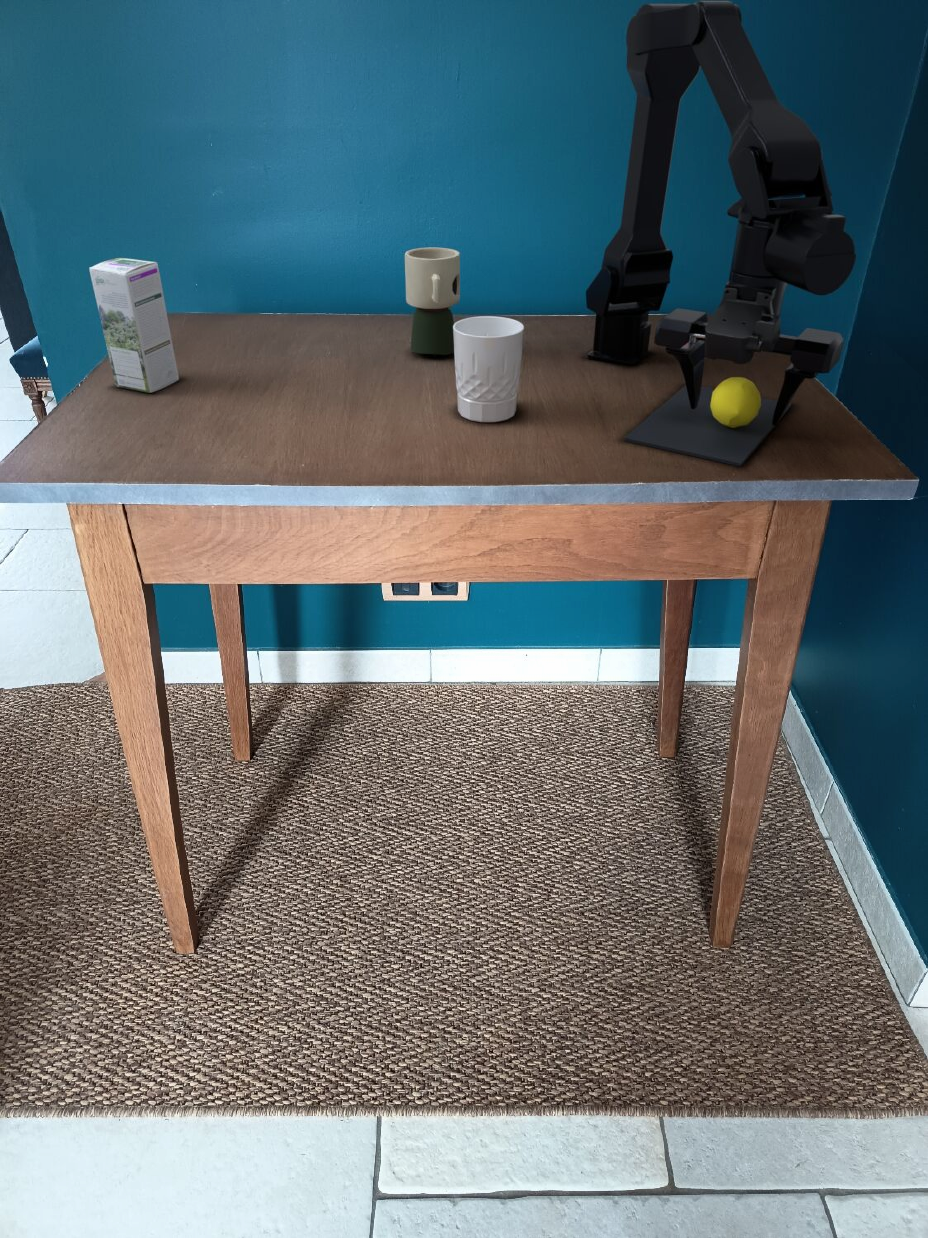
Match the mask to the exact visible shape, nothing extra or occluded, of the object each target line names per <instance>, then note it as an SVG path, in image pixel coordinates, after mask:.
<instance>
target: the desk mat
mask: <svg viewBox="0 0 928 1238" xmlns="http://www.w3.org/2000/svg"><path fill="white" fill-rule="evenodd" d="M714 390H715V388H714V387H713V388H712V387H708V386H702V385H701V393H700V397H699V401H698V405H697V408H695V409H691V406H690V402H689V397H688V393H687V388H686V384H685V385H684V386H682V387H681V388H680V389H678V391H676V392H675V393H674V394H673V395H671V397H670V398H669V399H667V400H666V401H665V402H664V403H663V404H661V405H660V406H659V407H658V408H657V409H656V410H654V411H653V412H652V413H651V414H650V415H649V416H648V417H646V418H645V419H644V420H643V421H642V422H640V423H639V424H638V425H637V426H636V427H635V428H634V429H632V430H631V431H630V432H629V433H627V434H626V436H624V438H623V441H624V442H627V443H628V442H629V443H632V444H636V445H641V446H645V447H650V448H655V449H660V450H663V451H664V450H665V451H668V452H674V453H678V454H681V455H686V456H691V457H695V458H700V459H703V460H708V461H714V462H717V463H723V464H726V465H730V466H736V467H742V466H743V465H744V464H745V462H746V461H747V460H748V459H749V458H750V456H751V455H752V454H753V453H754V452H755V451H756V449H757V448H758V447H759V445H760V444H761V443H762V442H763V441H764V440H765V439H766V437H767V436H768V435H769V433H771V431H773V429H774V428H775V427H776V426H775V425H772V421H773V415H774V411H775V408H776V404H777V401H778V399H777V400H776V399H771V398H765V397H761V396H760V399H761V407H760V409H759V412H758V415H757V416H756V417H755V418H754V419H753V420H752V421H751V422H750V423H749V424H748V425H744V426H739V427H735V428H731V427H728V426H724V425H723V424H721V423H720V422H719V421H718V420H717V419H716V418H715V417H713V414H712V410H711V407H710V405H711V398H712V393H713V391H714ZM792 405H793V403H792V402H790V403H789V405H788V406H787V408H786V410H785V411H784V413H783V415H782V417H781V418H780V420H782V418H783V417H784V416H785V415H786V413H787V412H788V411H789V410H790V409H791V407H792Z"/></svg>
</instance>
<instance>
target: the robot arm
mask: <svg viewBox="0 0 928 1238" xmlns="http://www.w3.org/2000/svg"><path fill="white" fill-rule="evenodd" d="M742 19H743V18H742V11H741V8H740V6H739V5H738V4H734V2H732V1H729V0H697V1H695V2H694V3H645V4H643V5H641V7H639V8H638V10H637V11H636V13H635V15H632V17H631V19H630V21H629V23H628V25H627V29H626V35H625V42H626V71H627V73H628V75H629V78H630V81H631V84H632V86H633V88H634V91H635V93H636V101H635V110H634V117H633V126H632V134H631V142H630V148H629V149H630V150H629V158H628V166H627V172H626V173H627V174H626V180H625V181H626V182H625V190H624V197H623V205H622V213H621V221H620V225H619V226H620V227H619V229H618V230H617V232H615V234H614V236H613V237H612V239H611V240H610V241H609V243H608V245H607V246H606V248H605V249H604V253H603V258H602V263H601V268H600V270H599V271H598V273H597V274H596V275H595V277H594V278H593V279H592V281H591V283H590V284H589V286H588V287H587V289H586V290H585V302H586V309H588V310H589V311H591V312H593V313H595V322H594V334H593V344H592V345H593V346H592V350H591V351H589V352H588V353H587V358H589V359H594V360H599V361H604V362H610V363H615V364H621V365H626V366H633V365H634V364H636V363H637V362H639V361H640V360H641V359H642V358H644V357H645V356H647V355H648V354H649V353H650V349H649V347H650V338H651V329H652V323H651V322H650V321H649V316H650V315H649V314H650V312H653V311H654V312H659V311H660V309H661V306H662V304H663V300H664V297H665V294H666V291H667V288H668V285H669V284H671V268H672V264H673V261H674V253H673V250H672V249H669V248H668V246H667V245H666V243H665V240H664V237H663V234H662V224H663V218H664V211H665V205H666V198H667V190H668V184H669V178H670V171H671V164H672V157H673V151H674V145H675V139H676V131H677V125H678V118H679V111H680V105H681V102H682V101H681V100H682V98H683V96H684V95H685V93H686V92H687V91H688V89H689V88H690V86H691V85H692V83H693V82H694V80H695V79H696V77H697V76H698V74H699V73H700V68H701V70H702V72H703V73H702V74H703V75H704V77H705V79H706V81H707V84H708V86H709V88H710V91H711V92H712V95H713V98H714V99H715V101H716V104H717V106H718V108H719V110H720V113H721V115H722V116H723V117H722V118H723V120H724V121H725V123H726V125H727V128H728V131H729V134H730V137H731V143H730V146H729V151H728V155H727V162H728V165H729V169H730V172H731V176H732V179H733V182H734V185H735V188H736V190H737V193H738V195H739V196H740V199H739V200H737V201H736V202H734V203H733V204H732V205H730V207H728V209H727V211H726V213H727V215H728V216H729V217H731V218H735V219H737V224H736V231H735V236H734V245H733V250H732V257H731V261H730V269H729V276H728V282H726V283H725V285H724V286H725V287H724V290H723V292H722V293H723V294H722V298H721V300H720V303H719V304H718V306H717V308H716V309H715V311H714V313H713V314H712V315H711V317H710V318H708V314H707V312H704V311H698V310H692V309H685V308H679V307H678V308H676V309H674V310H672V311H671V312H670V313H668V314H666V315H665V316H664V317H662V318H661V319H660V320H658V322H657V324H656V327H655V335H654V342H653V344H655V345H656V346H660V347H665V349H664V350H665V354H667V355H671V356H673V357H674V358H675V360H676V361H677V362H678V364H679V366H680V369H681V371H682V375H683V379H684V383H685V385H686V388H687V393H688V397H689V402H690V406H691V409H695V408H697V405H698V401H699V397H700V393H701V386H702V385H703V375H704V368H705V359H706V358H707V359H708V360H712V361H713V360H714V361H715V360H722V361H723V360H724V361H729V362H733V364H735V365H747V364H749V363H751V361H752V359H753V357H754V355H755V353H759V354H760V353H761V352H763V353H771V354H772V353H774V354H780V355H785V356H790V359H789V361H790V363H791V364H790V365H789V366H788V367H787V368H786V369H785V370H784V376H783V383H782V386H781V389H780V392H779V396H778V399H777V404H776V408H775V411H774V415H773V421H772V425H775V426H774V427H776V426H777V425H778V424H779V422H780V421H781V419H782V418H783V417H782V415H783V413H784V411H785V410H786V408H787V406H788V405H789V403H791V402H792V400H793V398H794V397H795V395H796V392H797V391H798V390H799V388H800V386H801V385H802V384H803V382H804V381H805V380H806V379H809V380H812V379H815V378H816V377H817V376H818V375H819V374H829V373H831V371H832V370H833V368H834V367H835V366H836V365H837V363H839V361H840V360H841V356H842V352H843V348H844V345H845V344H844V338H843V336H842V334H841V333H840V332H837V331H829V330H822V329H816V328H810V327H809V328H808V327H806V328H805V329H804V331H803V332H801V333H800V334H799V335H798V336H795V335H794V336H793V335H788V334H787V335H786V334H781V328H782V322H781V321H782V320H781V312H782V307H783V301H784V297H785V296H784V295H785V291H786V289H787V285H790V286H792V287H795V288H798V289H800V290H802V291H806V292H807V293H810V294H813V295H816V296H827V295H830V294H833V293H834V292H836V290H839V289H840V288H841V287H842V286H843V285H844V284H845V282H846V281H847V280H848V279H849V277H850V275H851V273H852V272H853V270H854V266H855V264H856V259H857V254H856V247H855V243H854V240H853V238H852V237H851V236H850V234H849V233H848V232H846V231H845V227H846V222H847V218H846V216H843V215H841V214H833V212H834V205H833V201H832V196H833V193H832V190H831V188H830V185H829V183H828V178H827V174H826V170H825V169H826V168H825V164H824V160H823V151H822V147H821V144H820V142H819V141H820V140H818V138H817V136H816V135H815V134H814V132H813V131H812V130H811V128H810V127H809V125H807V123H806V122H805V120H804V119H803V118H801V117H800V116H799V115H796V114H795V113H794V112H793V111H790V110H789V109H788V108H786V107H784V105H783V104H782V103H781V102H780V101H779V99H778V97H777V95H776V93H775V92H774V89H773V87H772V85H771V83H770V81H769V78H768V77H767V74H766V73H765V70H764V68H763V66H762V63H761V62H760V60H759V58H758V56H757V54H756V51H755V49H754V47H753V45H752V43H751V41H750V39H749V37H748V35H747V33H746V30H745V28H744V26H743V25H742V23H743V22H742V21H743V20H742ZM803 196H804V197H803ZM708 319H709V321H708ZM781 417H782V418H781ZM780 418H781V419H780Z"/></svg>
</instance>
